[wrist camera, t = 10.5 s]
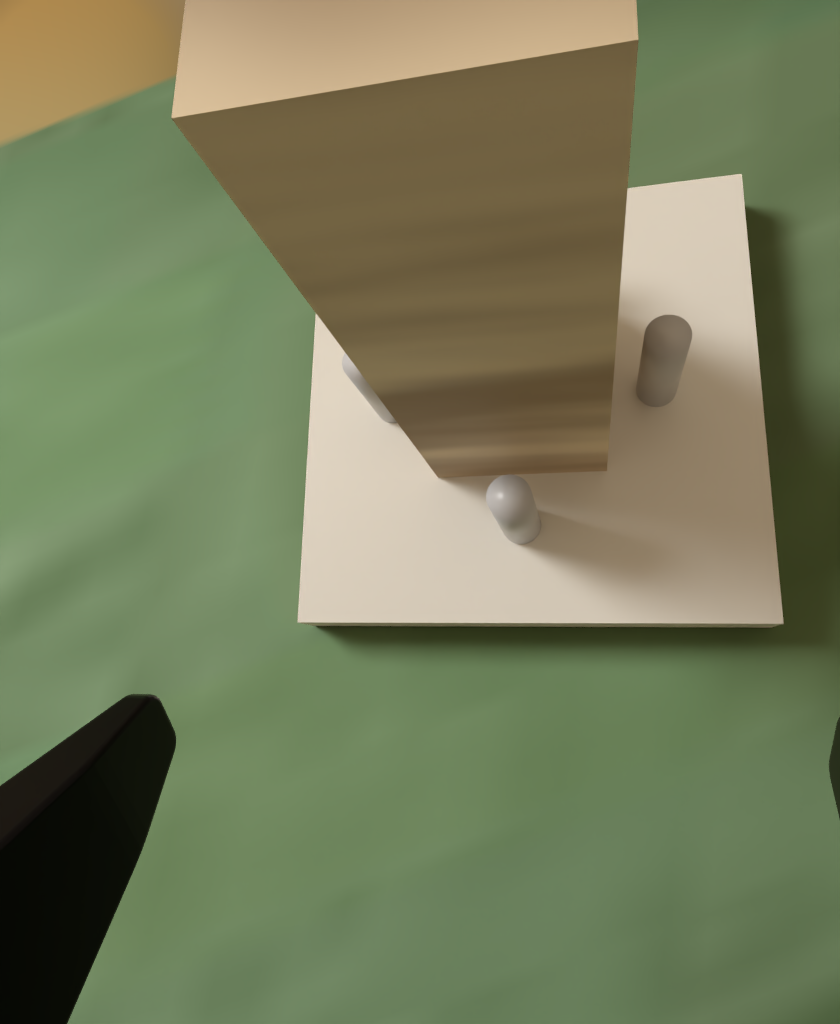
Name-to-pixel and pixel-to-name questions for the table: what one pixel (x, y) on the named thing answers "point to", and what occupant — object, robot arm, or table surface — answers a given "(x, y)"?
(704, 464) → the pin plate
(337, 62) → the maple block
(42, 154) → the table surface
